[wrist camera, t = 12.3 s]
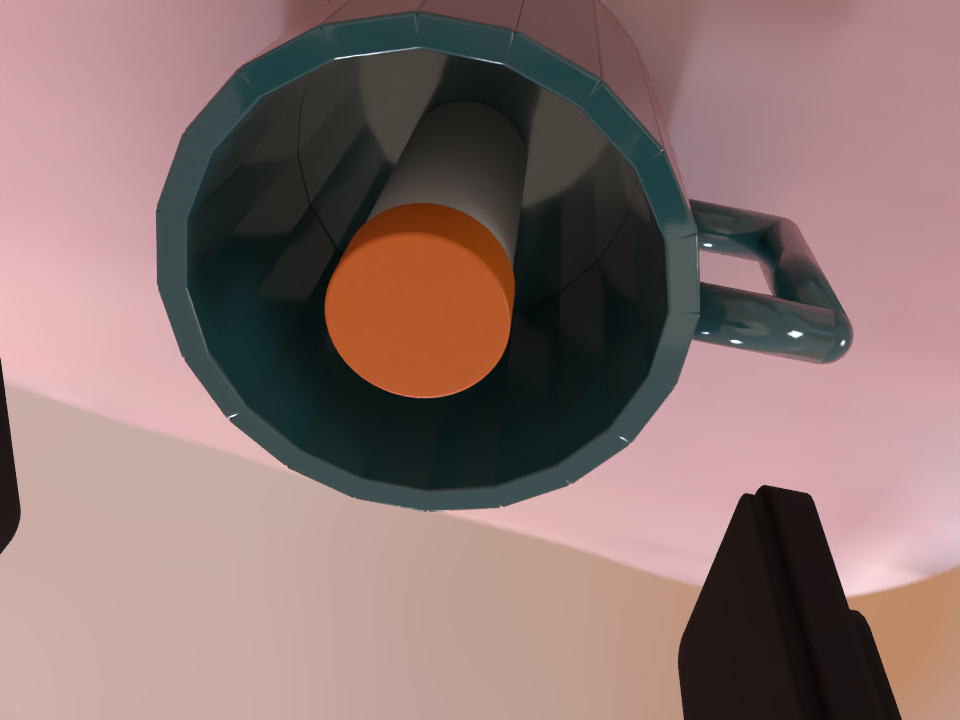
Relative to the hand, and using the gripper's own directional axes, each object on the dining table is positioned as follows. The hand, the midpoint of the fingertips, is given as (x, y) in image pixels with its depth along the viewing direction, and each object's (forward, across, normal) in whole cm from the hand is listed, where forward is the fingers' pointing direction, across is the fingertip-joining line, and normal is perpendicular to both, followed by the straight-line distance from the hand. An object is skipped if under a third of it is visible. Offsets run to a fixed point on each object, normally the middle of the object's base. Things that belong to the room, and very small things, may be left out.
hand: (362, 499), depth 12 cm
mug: (+15, -2, +1) cm, 15 cm away
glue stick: (+14, 0, +1) cm, 15 cm away
